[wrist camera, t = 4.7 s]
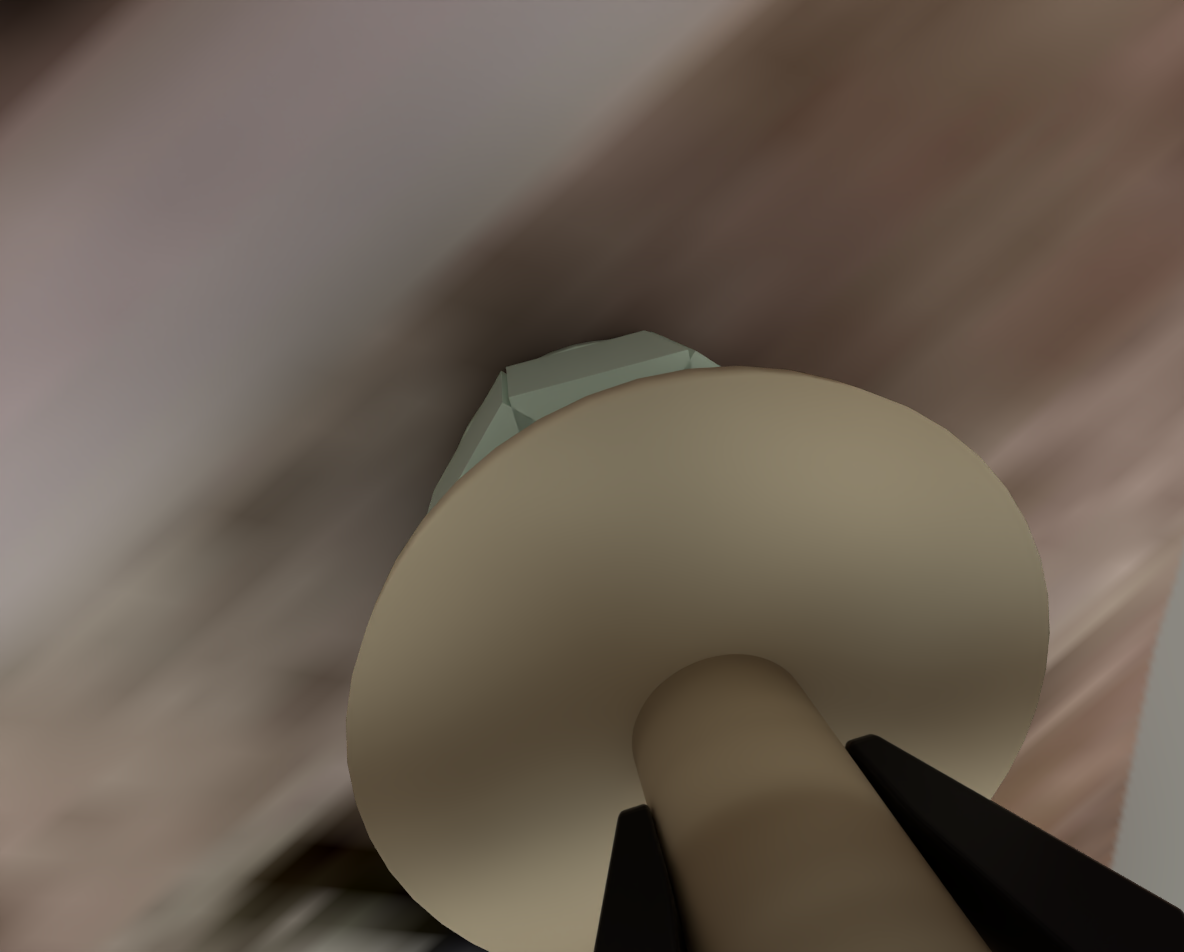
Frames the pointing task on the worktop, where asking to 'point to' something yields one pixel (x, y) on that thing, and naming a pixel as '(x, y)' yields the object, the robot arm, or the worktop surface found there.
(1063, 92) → the worktop surface
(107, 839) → the worktop surface
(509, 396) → the bowl
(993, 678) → the lid
